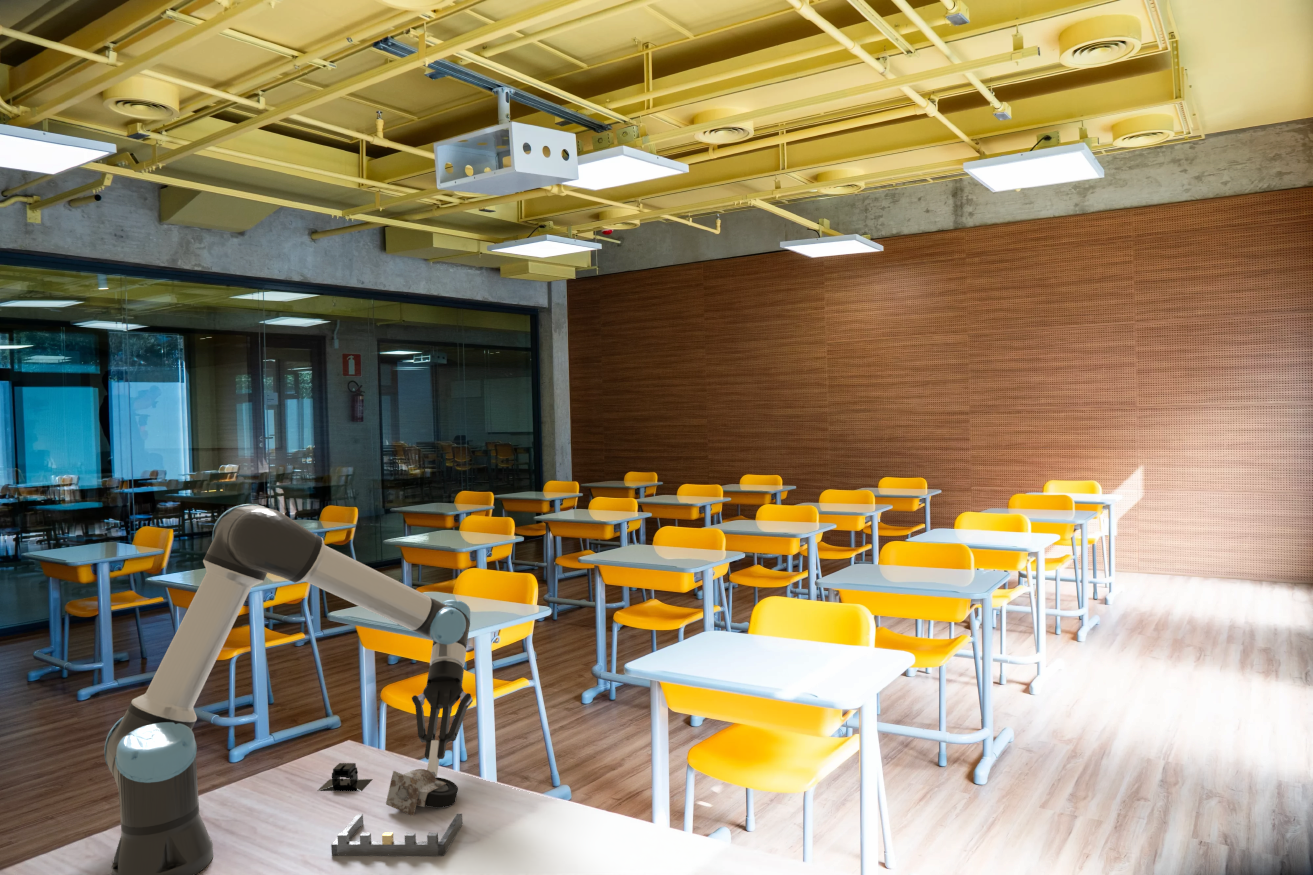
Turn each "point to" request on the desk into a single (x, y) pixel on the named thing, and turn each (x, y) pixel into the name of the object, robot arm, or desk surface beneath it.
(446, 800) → the caster wheel
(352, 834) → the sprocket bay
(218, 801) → the desk surface
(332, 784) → the black mounting bracket
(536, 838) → the desk surface
